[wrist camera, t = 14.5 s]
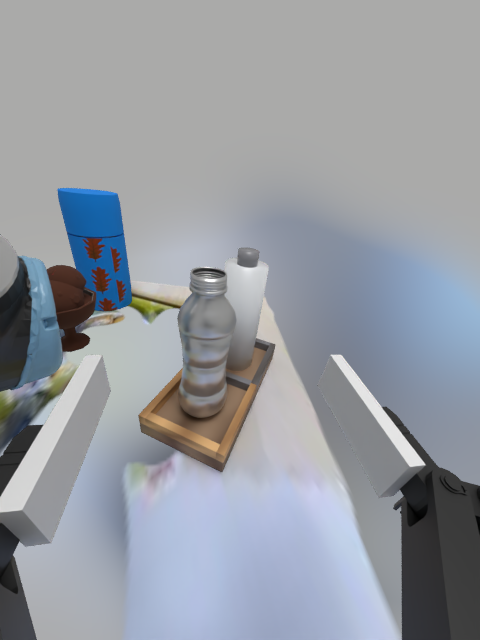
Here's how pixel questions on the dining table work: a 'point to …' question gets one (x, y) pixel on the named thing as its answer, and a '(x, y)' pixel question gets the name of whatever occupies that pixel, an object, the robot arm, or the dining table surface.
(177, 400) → the tray
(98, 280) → the thermos
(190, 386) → the plastic bottle
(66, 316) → the ice cream bowl
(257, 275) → the bottle
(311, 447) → the dining table surface
